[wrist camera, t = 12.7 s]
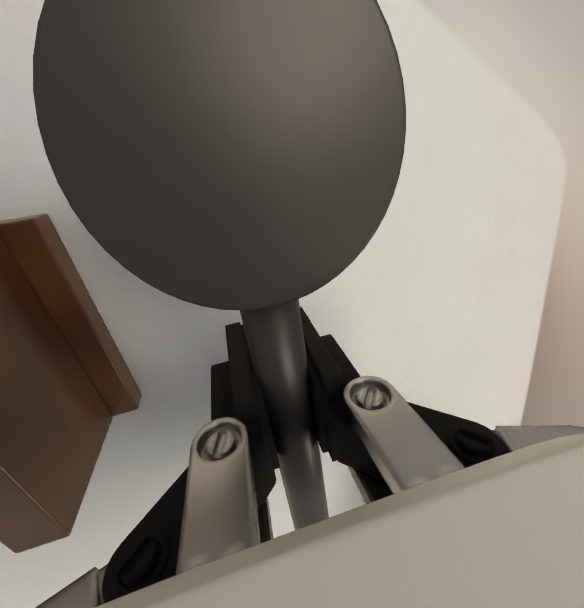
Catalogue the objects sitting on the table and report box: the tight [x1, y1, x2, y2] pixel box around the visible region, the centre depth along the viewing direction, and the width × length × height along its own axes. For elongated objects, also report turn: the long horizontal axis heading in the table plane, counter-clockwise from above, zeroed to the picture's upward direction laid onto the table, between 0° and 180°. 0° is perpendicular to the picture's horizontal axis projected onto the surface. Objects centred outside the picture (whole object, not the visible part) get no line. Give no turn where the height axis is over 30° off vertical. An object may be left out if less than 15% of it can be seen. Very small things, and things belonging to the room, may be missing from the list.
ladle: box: [33, 0, 406, 531], centre depth 9 cm, size 5×20×2 cm, turn 8°
